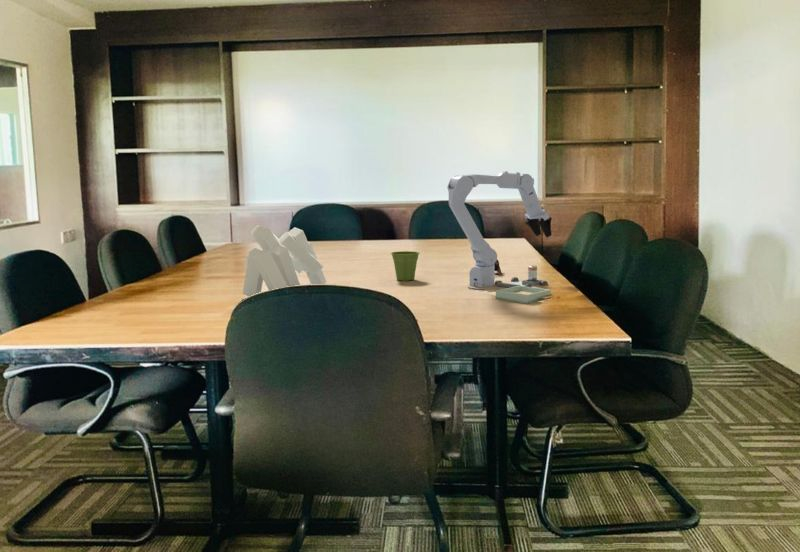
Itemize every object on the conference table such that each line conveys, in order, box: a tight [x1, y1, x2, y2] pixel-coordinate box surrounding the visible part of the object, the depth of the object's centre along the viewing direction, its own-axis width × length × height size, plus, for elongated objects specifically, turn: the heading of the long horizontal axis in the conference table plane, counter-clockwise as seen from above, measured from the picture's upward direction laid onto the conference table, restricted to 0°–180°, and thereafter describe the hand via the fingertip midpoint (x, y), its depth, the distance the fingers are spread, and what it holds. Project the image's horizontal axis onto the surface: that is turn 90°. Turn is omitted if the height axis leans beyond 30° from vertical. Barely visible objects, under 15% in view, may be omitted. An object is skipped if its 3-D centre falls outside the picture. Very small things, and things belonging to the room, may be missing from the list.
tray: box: [495, 286, 552, 305], centre depth 259 cm, size 14×14×3 cm
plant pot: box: [390, 250, 420, 282], centre depth 305 cm, size 12×12×11 cm
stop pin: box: [527, 265, 538, 282], centre depth 279 cm, size 3×3×7 cm
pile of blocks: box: [242, 224, 327, 297], centre depth 271 cm, size 35×30×35 cm
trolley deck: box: [494, 276, 549, 288], centre depth 279 cm, size 15×15×3 cm
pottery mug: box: [494, 259, 502, 276], centre depth 318 cm, size 12×10×8 cm
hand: (543, 235), depth 286 cm, fingers open, 7 cm apart
